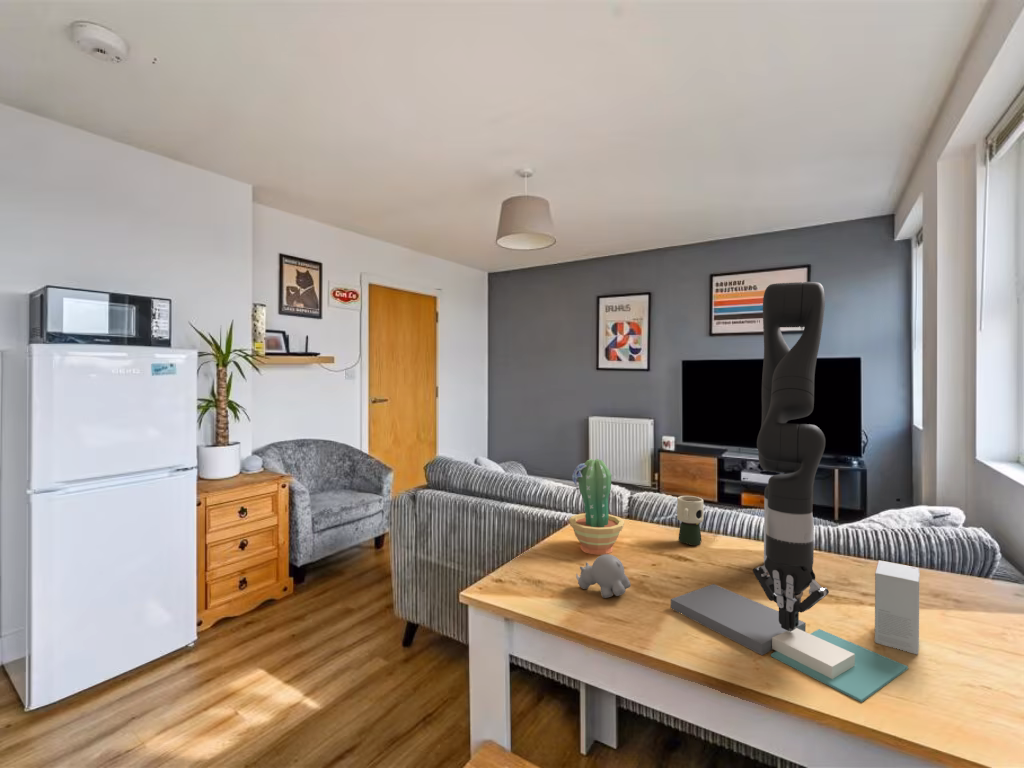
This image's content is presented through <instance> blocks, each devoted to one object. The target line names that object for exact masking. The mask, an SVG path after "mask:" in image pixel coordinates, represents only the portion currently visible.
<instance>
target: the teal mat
mask: <svg viewBox="0 0 1024 768" xmlns="http://www.w3.org/2000/svg"><path fill="white" fill-rule="evenodd" d="M810 634H811V635H813V636H816V637H818V638H820V639H822V640H825V641H827V642H829V643H831V644H834V645H836V646H838V647H840V648H843V649H845V650H847V651H849V652H852V653H854V654H855V666H853V667H852V668H850V669H848V670H847V671H845V672H843V673H842V674H840V675H838V676H837V677H835V678H833V679H831V678H829V677H827V676H825V675H823V674H821V673H819V672H817V671H815V670H813V669H811V668H809V667H807V666H805V665H803V664H801V663H799V662H797V661H795V660H794V659H792V658H790V657H788V656H786V655H784V654H782V653H780V652H778V651H776V650H775V651H774V652H773V653H770V657H772V658H773V659H775V660H777V661H779V662H781V663H783V664H786V665H787V666H789V667H791V668H793V669H795V670H797V671H798V672H800V673H803V674H804V675H807V676H809V677H811V678H813V679H815V680H817V681H819V682H821V683H823V684H825V685H826V686H829V687H831V688H832V689H834V690H836V691H838V692H840V693H842V694H844V695H846V696H848V697H850V698H851V699H854V700H856V701H858V702H860V703H863V702H864V701H866V700H867V699H868V698H870V697H871V696H873V695H874V694H875V693H876V692H878V691H880V690H881V689H882V688H884V687H885V686H887V684H889V683H890V682H892V681H893V680H895V679H896V678H898V677H899V676H900V675H901V674H903V673H904V672H906V671H907V670H908V669H909V666H908V665H906V664H904V663H902V662H898V661H896V660H893V659H891V658H889V657H887V656H884V655H882V654H879V653H877V652H875V651H872V650H870V649H868V648H865V647H863V646H861V645H859V644H856V643H854V642H851V641H849V640H846V639H844V638H842V637H840V636H838V635H835V634H832V633H830V632H828V631H825V630H822V629H820V628H819V629H816V630H814V631H813V632H811V633H810Z"/></svg>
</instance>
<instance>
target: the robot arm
mask: <svg viewBox="0 0 1024 768" xmlns="http://www.w3.org/2000/svg"><path fill="white" fill-rule="evenodd" d="M825 304H826V294H825V290H824V286H823V285H822V284H821V283H820V282H816V281H803V282H802V281H800V282H799V281H798V282H797V281H796V282H778V283H771V284H769V285H768V286H767V287H766V288H765V290H764V292H763V297H762V322H763V323H762V326H763V327H762V329H763V364H762V365H763V366H762V374H761V375H762V377H761V378H762V379H761V425H760V430H759V432H758V435H757V438H756V449H757V451H758V463H759V465H760V467H761V469H762V470H763V471H766V472H773V473H781V474H775V475H771V476H770V477H769V479H768V481H767V482H768V483H767V485H765V487H764V492H763V493H764V498H763V499H764V507H763V509H764V514H763V515H764V516H763V517H764V519H763V520H764V523H763V565H761V566H756V567H754V568H753V569H752V572H753V575H754V576H755V578H756V580H757V581H758V584H759V585H760V587H761V588H762V590H763V592H764V593H765V595H766V597H767V598H768V600H769V601H770V602H772V601H773V602H774V603H776V605H777V607H778V611H779V623H780V624H781V628H783V629H785V630H787V631H790V632H791V631H793V630H795V629H796V628H797V627H798V625H799V620H800V617H799V616H800V614H799V613H804V612H806V611H808V610H810V609H812V608H813V607H814V606H816V604H818V603H819V602H820V601H822V599H824V598H825V597H826V596H828V595H829V591H830V590H829V589H828V588H827V587H825V586H824V587H822V586H821V584H819V583H818V582H817V580H816V574H815V572H814V570H813V565H814V556H815V555H814V550H815V548H814V546H815V544H814V543H815V540H814V539H815V532H814V531H815V527H814V526H815V525H814V517H813V502H814V500H813V498H814V495H813V493H814V491H813V490H814V483H815V477H816V473H817V472H818V471H817V470H818V468H819V465H820V462H821V460H822V458H823V455H824V452H825V448H826V436H825V434H824V432H823V431H822V429H820V427H818V426H817V425H815V424H810V423H809V424H807V423H792V422H791V423H788V422H789V421H791V420H797V419H798V420H799V419H803V418H806V417H808V416H810V415H811V414H812V413H813V411H814V407H815V405H814V404H815V377H816V376H815V374H816V367H817V359H818V354H819V349H820V345H821V340H822V339H821V337H822V331H823V323H824V316H825V309H826V308H825V306H826V305H825ZM781 328H803V331H802V334H801V336H800V337H799V339H798V340H797V341H796V343H795V344H794V345H793V346H792V347H791V348H790V347H789V345H788V344H787V342H786V340H785V339H784V336H783V333H782V330H781ZM808 587H809V589H808ZM806 589H808V594H809V595H808V596H807V597H806V598H805V599H804V600H802V597H804V591H805V590H806Z"/></svg>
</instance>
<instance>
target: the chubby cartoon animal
mask: <svg viewBox="0 0 1024 768" xmlns="http://www.w3.org/2000/svg"><path fill="white" fill-rule="evenodd" d="M579 569H580V574H578V573H577V572H576V574H575V575H576V580H577V582H578V583H577V585H578V587H580V588H581V589H582V590H588V589H589V587H590V586H592V585H596V584H597V585H598V586H599V587H600V594H601V597H602V598H604V599H607V598H611V597H613V595H614V596H616V597H618V596H622V595H623V594H625V593H626V590H628V589H630V587H631V581H630V579H629V578H628V576H627V575H626V574H625V567H624V564H623V562H622V561H621V560H620V559H619V558H618V557H617V556H615V555H613V554H610V553H608V554H601V555H600V556H598V557H597V558H595V560H593V562H592V565H590V564H589V562H585V566H584V567H583V566H579Z"/></svg>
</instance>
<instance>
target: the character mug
mask: <svg viewBox="0 0 1024 768" xmlns="http://www.w3.org/2000/svg"><path fill="white" fill-rule="evenodd" d="M676 502H677V505H676V507H677V508H676V509H677V510H676V511H677V512H676V513H677V515H676V517H677V520H678V521H680V525H679V532H678V541H679V542H681V543H683V544H687V545H688V546H690V545H692V546H699V545H701V544H702V541H703V540H702V534H701V526H700V524H701V523H702V522H703V521H704V499H703V498H702V497H699V496H693V495H680V496H677V501H676Z"/></svg>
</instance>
